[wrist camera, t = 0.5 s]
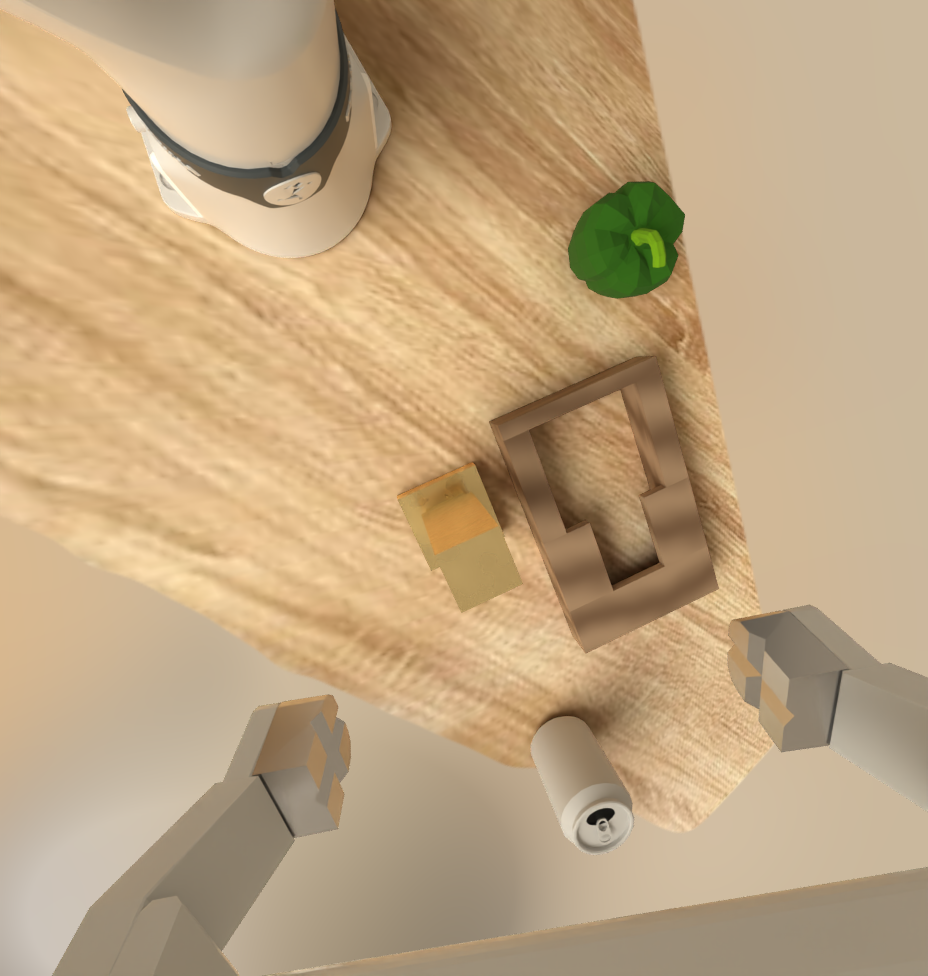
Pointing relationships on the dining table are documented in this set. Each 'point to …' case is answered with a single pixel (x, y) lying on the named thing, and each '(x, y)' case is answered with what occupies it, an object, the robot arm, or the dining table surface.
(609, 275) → the bell pepper
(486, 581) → the brass peg
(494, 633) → the dining table surface
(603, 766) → the can
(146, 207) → the dining table surface
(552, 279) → the dining table surface
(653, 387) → the walnut keyhole plate
